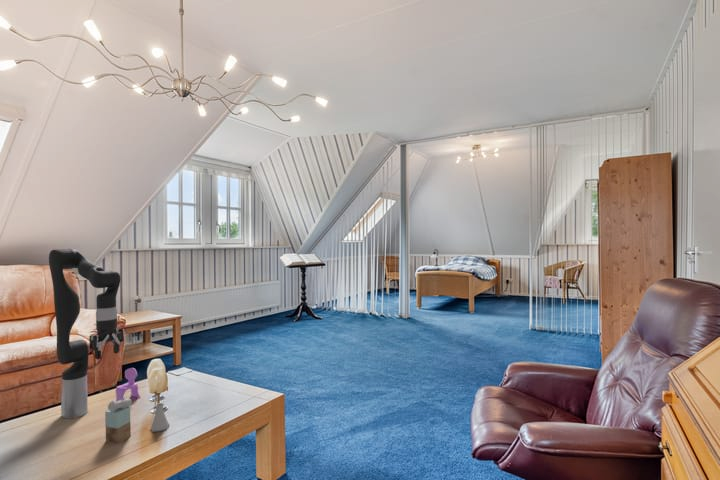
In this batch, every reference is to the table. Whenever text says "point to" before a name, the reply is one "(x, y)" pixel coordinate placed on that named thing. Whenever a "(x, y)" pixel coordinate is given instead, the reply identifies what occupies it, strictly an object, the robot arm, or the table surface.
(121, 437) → the tower bottom
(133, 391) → the purple figure shape
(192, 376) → the table surface
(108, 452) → the table surface
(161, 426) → the flask
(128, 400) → the mannequin head
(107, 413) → the tower top
